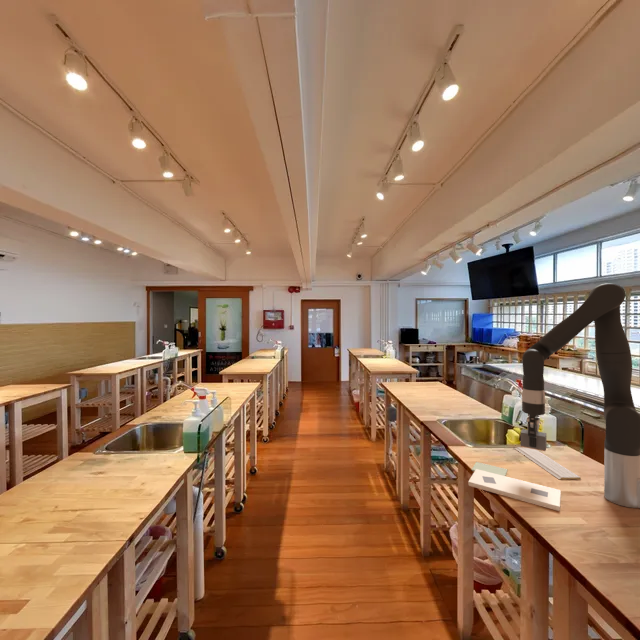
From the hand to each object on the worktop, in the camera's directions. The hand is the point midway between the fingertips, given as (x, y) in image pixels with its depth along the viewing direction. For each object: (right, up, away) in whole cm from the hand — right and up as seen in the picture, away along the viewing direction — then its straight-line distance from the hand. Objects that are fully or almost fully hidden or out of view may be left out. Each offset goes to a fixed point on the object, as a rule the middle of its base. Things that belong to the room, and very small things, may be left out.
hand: (533, 444), depth 129 cm
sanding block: (0, -1, 0) cm, 1 cm away
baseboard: (+14, -15, +16) cm, 26 cm away
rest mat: (-12, -14, +9) cm, 21 cm away
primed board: (-12, -14, -7) cm, 20 cm away
